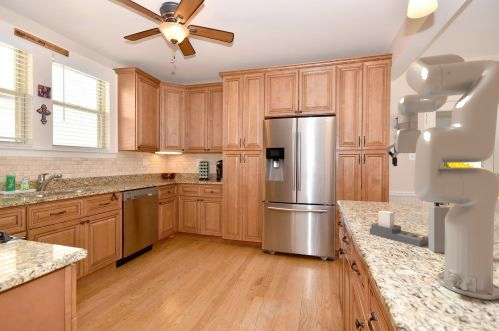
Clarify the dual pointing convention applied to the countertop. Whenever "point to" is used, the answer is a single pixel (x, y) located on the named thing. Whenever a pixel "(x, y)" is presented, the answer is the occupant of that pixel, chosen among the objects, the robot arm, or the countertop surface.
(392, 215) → the charger
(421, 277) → the countertop surface
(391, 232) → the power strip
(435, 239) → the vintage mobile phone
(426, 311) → the countertop surface
